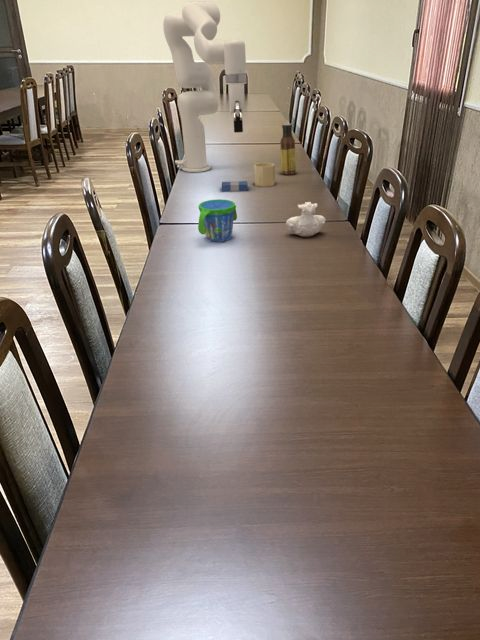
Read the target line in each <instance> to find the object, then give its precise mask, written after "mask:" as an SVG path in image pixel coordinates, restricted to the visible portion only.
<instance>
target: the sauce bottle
mask: <svg viewBox="0 0 480 640" xmlns="http://www.w3.org/2000/svg"><path fill="white" fill-rule="evenodd" d="M281 128H282V137H281V139H280V142H279V143H280V170H281V171H280V172H281V174H282V175H284V176H285V175H286V176H292V175H295V174H296V173H297V170H296V169H297V165H296V164H297V162H296V160H297V159H296V141H295V139H294V136H293V123H282V125H281Z"/></svg>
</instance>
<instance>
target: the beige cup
mask: <svg viewBox="0 0 480 640" xmlns="http://www.w3.org/2000/svg"><path fill="white" fill-rule="evenodd" d="M275 169H276V167H275V163H273V162H258V163H254V164H253V174H254V186H256V187H263V188H267V187H272V186H275V185H276V183H275V182H276V178H275V177H276V173H275V171H276V170H275Z"/></svg>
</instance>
